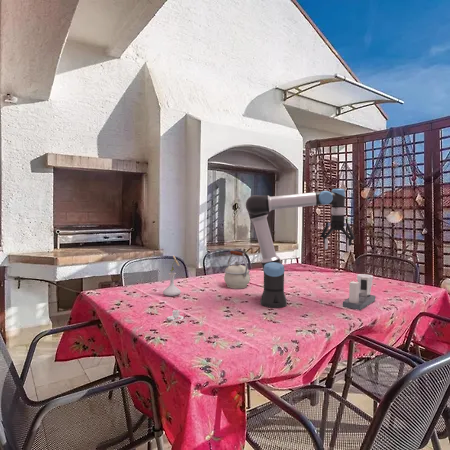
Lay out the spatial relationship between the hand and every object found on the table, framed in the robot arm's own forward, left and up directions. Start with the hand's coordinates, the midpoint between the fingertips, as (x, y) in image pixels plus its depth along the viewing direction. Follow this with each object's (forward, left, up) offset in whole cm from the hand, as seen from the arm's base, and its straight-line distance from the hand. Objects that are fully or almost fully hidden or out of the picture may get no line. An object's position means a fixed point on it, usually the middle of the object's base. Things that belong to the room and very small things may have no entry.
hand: (337, 250), depth 202 cm
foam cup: (+9, +24, -31) cm, 40 cm away
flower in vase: (-84, -57, -31) cm, 106 cm away
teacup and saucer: (-50, -88, -31) cm, 106 cm away
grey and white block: (+13, +3, -31) cm, 33 cm away
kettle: (-69, -11, -31) cm, 76 cm away
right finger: (+13, -6, -30) cm, 33 cm away
